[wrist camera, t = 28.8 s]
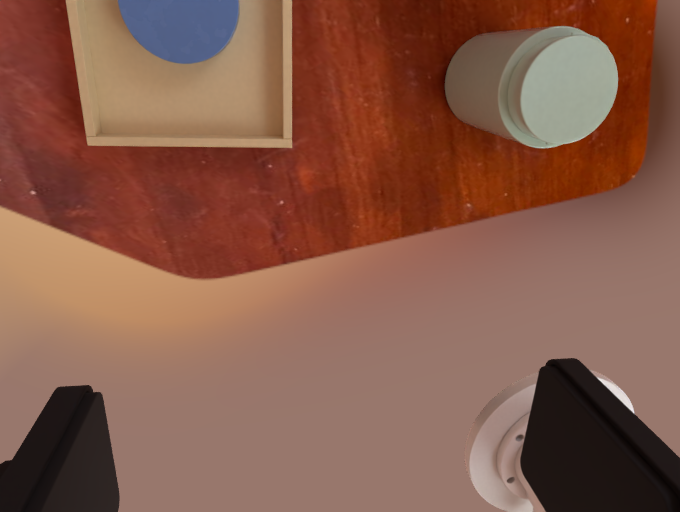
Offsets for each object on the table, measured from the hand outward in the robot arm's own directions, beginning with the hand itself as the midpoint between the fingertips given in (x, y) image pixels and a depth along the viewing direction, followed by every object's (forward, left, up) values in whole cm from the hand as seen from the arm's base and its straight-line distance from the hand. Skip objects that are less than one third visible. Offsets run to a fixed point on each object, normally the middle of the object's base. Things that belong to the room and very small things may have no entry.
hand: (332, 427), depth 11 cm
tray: (+10, +6, -28) cm, 31 cm away
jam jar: (+6, -15, -28) cm, 33 cm away
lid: (+10, +6, -26) cm, 29 cm away
